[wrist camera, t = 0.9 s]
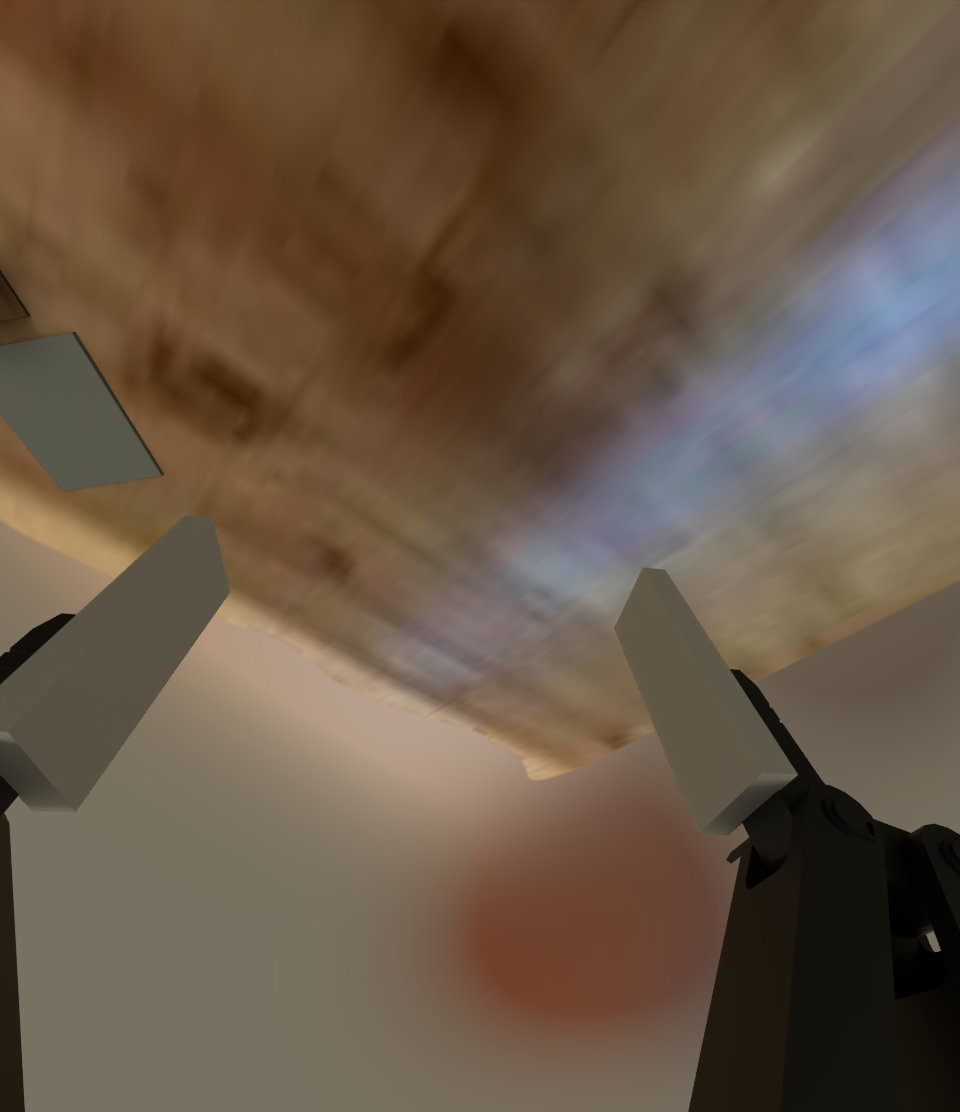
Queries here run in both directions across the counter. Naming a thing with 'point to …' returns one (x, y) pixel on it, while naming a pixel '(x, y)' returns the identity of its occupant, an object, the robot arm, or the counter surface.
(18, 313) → the walnut block
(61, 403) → the mat
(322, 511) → the counter surface
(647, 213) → the counter surface
